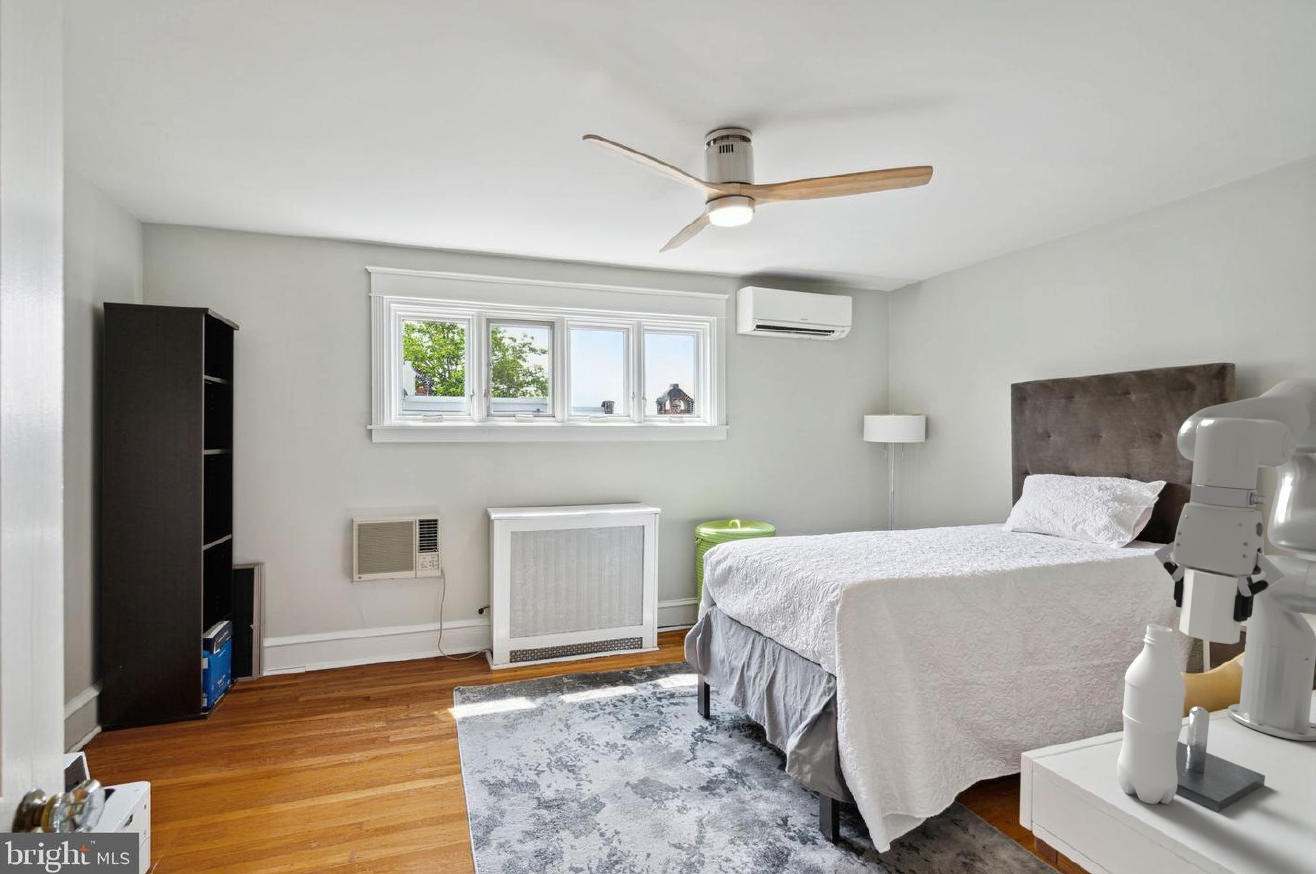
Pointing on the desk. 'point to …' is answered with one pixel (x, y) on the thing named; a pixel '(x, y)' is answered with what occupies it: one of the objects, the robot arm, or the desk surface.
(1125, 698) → the water bottle
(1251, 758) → the desk surface
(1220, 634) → the white hollow octagonal tube
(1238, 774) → the roll holder
